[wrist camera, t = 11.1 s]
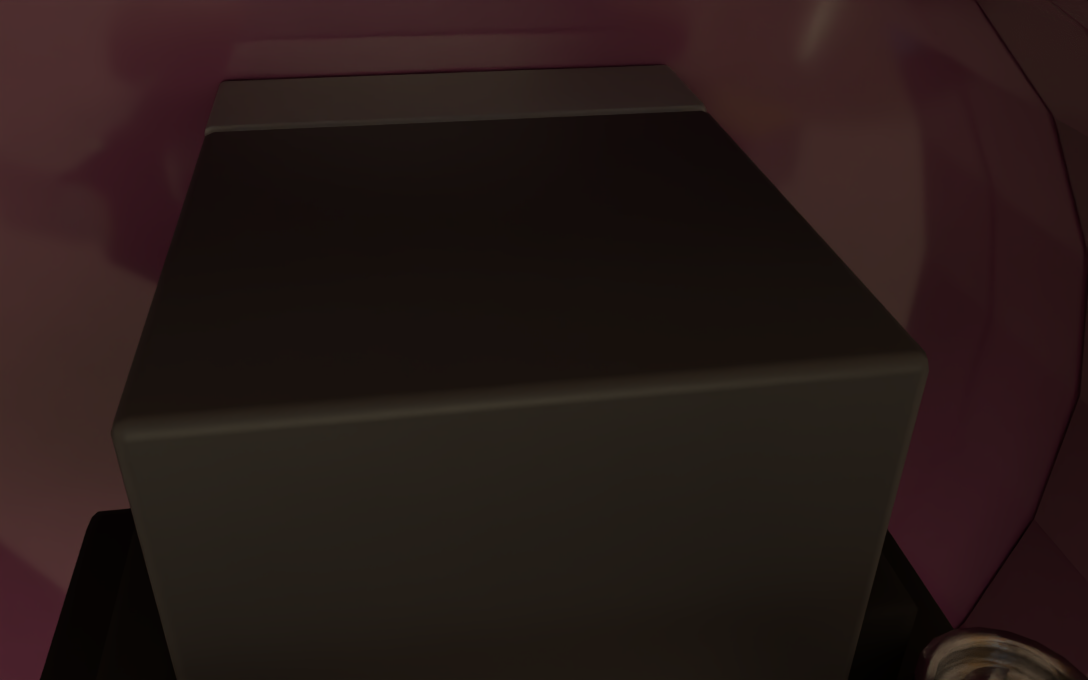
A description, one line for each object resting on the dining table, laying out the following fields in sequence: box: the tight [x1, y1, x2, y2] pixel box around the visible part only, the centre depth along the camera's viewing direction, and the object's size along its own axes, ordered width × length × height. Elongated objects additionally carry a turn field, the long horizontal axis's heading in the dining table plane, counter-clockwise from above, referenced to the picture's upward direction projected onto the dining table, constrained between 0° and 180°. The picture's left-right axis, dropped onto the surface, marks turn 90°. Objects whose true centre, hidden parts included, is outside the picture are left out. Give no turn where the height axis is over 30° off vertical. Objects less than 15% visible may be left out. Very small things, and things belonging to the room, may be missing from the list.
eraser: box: [111, 65, 929, 680], centre depth 9 cm, size 4×8×5 cm, turn 179°
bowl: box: [0, 0, 1088, 680], centre depth 10 cm, size 16×16×4 cm
